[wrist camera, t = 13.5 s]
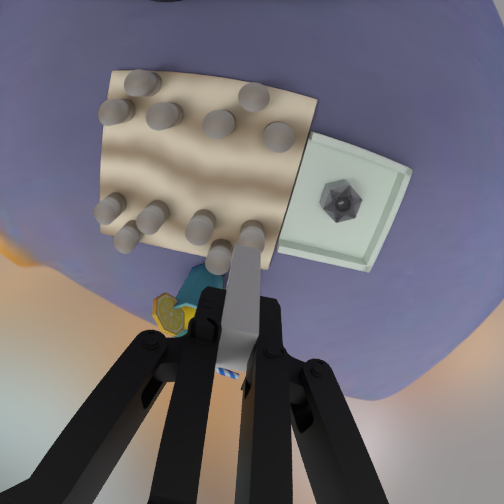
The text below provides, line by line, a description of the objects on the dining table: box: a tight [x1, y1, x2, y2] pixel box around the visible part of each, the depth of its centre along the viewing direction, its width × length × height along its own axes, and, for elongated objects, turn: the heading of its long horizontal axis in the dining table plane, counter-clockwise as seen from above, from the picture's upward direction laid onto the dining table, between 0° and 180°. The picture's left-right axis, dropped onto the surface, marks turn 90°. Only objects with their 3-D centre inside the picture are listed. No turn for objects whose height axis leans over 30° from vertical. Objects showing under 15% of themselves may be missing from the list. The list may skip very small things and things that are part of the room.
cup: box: [152, 263, 239, 379], centre depth 35 cm, size 14×8×15 cm, turn 47°
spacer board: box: [94, 69, 317, 275], centre depth 31 cm, size 24×26×5 cm
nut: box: [319, 179, 362, 223], centre depth 33 cm, size 4×5×2 cm
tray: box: [277, 131, 413, 272], centre depth 34 cm, size 16×14×2 cm
